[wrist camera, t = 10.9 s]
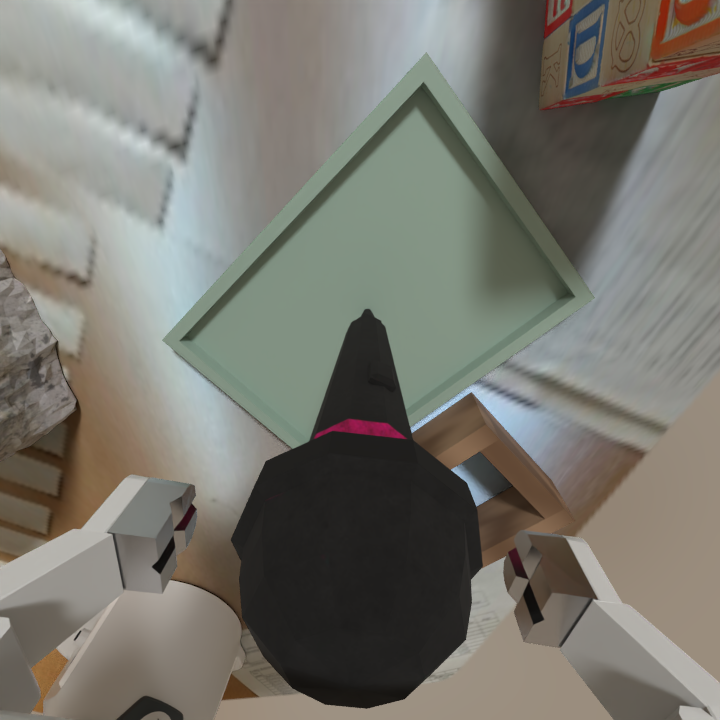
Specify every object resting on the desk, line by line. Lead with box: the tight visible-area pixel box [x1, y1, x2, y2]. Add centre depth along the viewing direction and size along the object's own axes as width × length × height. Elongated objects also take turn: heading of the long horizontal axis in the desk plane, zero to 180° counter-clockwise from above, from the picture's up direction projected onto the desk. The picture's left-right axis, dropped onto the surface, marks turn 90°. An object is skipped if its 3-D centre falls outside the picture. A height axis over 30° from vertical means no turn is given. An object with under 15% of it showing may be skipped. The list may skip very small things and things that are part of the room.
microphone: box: [231, 309, 483, 709], centre depth 15 cm, size 6×6×20 cm
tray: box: [162, 52, 595, 449], centre depth 24 cm, size 22×16×2 cm
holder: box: [412, 392, 575, 568], centre depth 29 cm, size 11×11×4 cm
